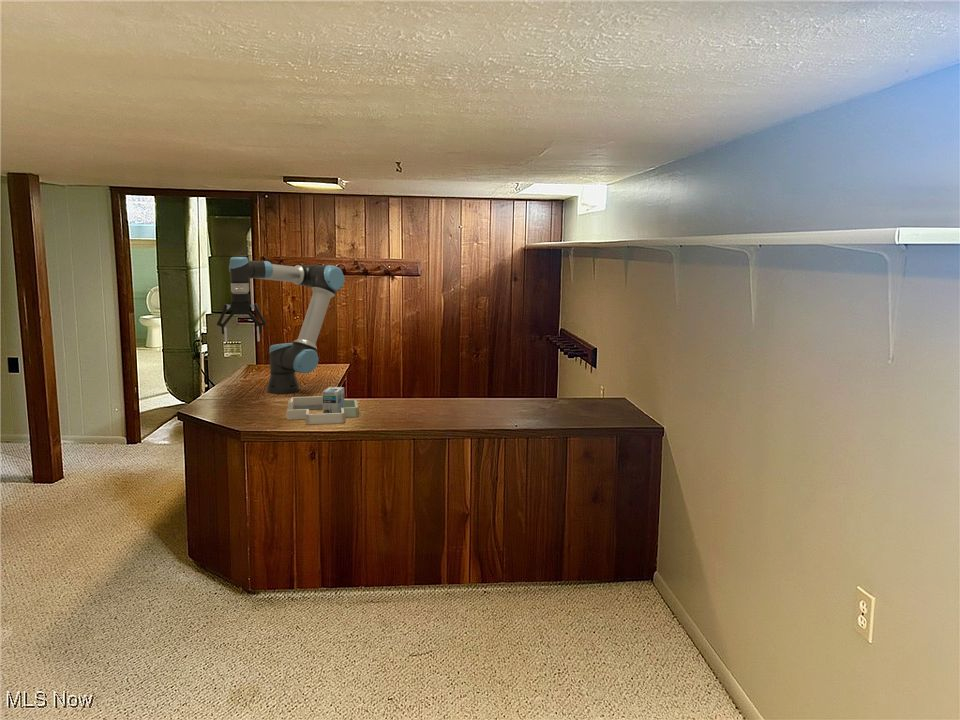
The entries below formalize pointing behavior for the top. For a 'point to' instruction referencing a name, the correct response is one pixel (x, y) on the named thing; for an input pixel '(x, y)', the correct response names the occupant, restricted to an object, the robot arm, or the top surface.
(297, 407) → the mats
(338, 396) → the light bulb box
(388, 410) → the top surface
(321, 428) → the top surface
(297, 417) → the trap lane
